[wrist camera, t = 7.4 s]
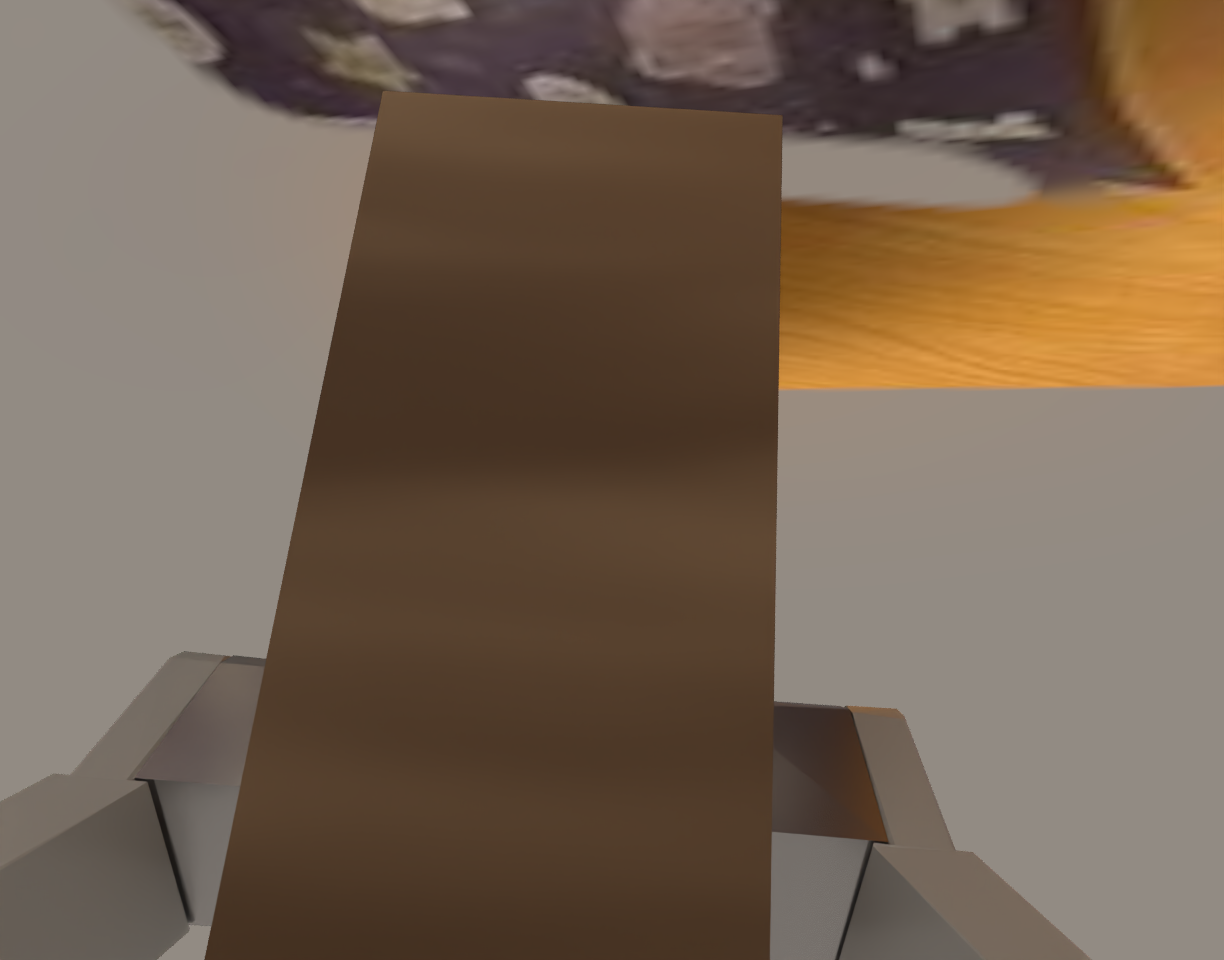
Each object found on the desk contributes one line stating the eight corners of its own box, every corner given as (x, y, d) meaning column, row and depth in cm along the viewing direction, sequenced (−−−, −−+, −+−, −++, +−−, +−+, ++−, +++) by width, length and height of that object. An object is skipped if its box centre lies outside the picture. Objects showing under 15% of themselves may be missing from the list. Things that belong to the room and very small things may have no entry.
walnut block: (383, 90, 8) (196, 1006, 6) (782, 114, 8) (767, 1057, 6) (443, 260, 11) (335, 917, 8) (737, 280, 11) (716, 951, 8)
